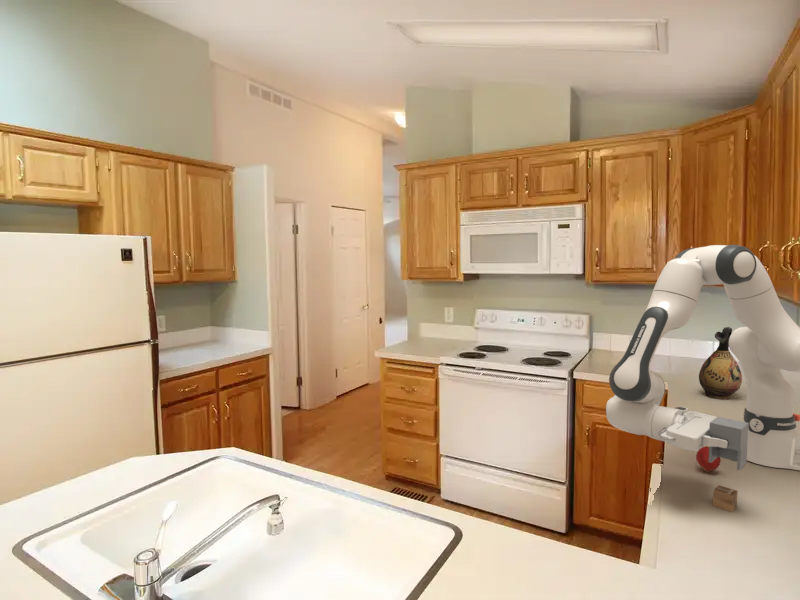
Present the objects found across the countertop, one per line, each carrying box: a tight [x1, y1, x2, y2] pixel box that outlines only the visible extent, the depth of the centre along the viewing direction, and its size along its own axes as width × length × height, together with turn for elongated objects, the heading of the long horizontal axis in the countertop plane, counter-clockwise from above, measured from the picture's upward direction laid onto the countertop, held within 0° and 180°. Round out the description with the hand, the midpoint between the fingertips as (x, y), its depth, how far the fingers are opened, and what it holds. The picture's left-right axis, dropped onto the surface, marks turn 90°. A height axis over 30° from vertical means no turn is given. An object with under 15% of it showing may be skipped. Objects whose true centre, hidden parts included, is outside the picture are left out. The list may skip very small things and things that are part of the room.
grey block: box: [709, 416, 749, 471], centre depth 117 cm, size 6×6×10 cm
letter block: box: [712, 484, 739, 513], centre depth 118 cm, size 4×4×4 cm
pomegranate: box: [695, 446, 722, 473], centre depth 137 cm, size 6×6×8 cm
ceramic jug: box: [698, 326, 743, 400], centre depth 208 cm, size 17×15×30 cm
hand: (732, 439), depth 116 cm, fingers closed on grey block, 6 cm apart
